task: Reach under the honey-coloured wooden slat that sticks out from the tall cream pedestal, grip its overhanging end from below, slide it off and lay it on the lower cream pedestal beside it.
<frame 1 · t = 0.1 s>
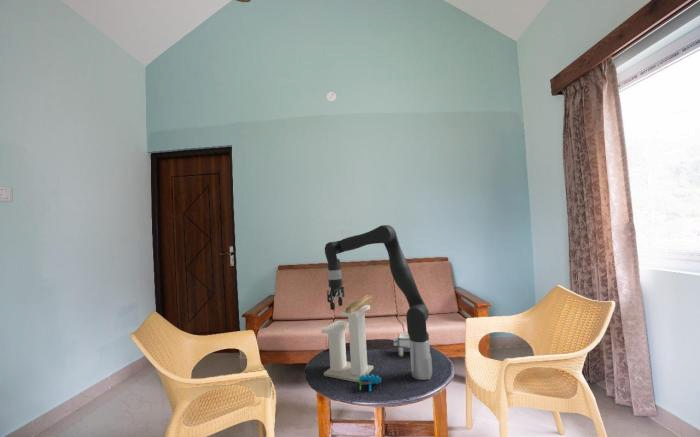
hand: (336, 307, 168), 29 cm above the table, tool pointing down, fingers open, 8 cm apart
blue legged figure: (369, 388, 138), on the table
two-step rack: (349, 371, 154), on the table
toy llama: (410, 354, 171), on the table
wooden slat: (359, 306, 157), point 32 cm above the table, touching two-step rack
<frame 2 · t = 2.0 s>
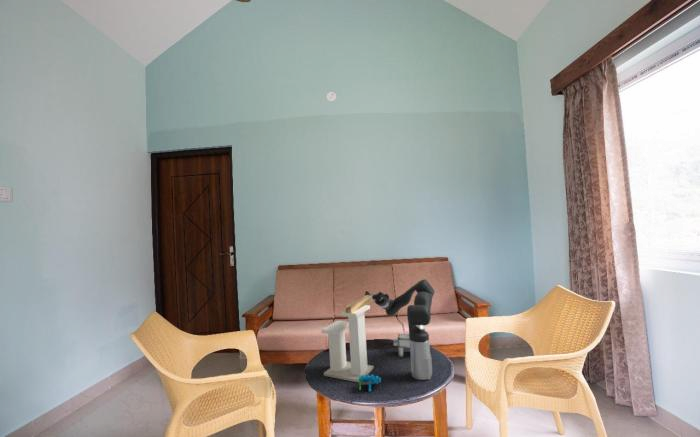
hand: (372, 293, 182), 33 cm above the table, tool pointing upward, fingers open, 8 cm apart
nothing on the table moved.
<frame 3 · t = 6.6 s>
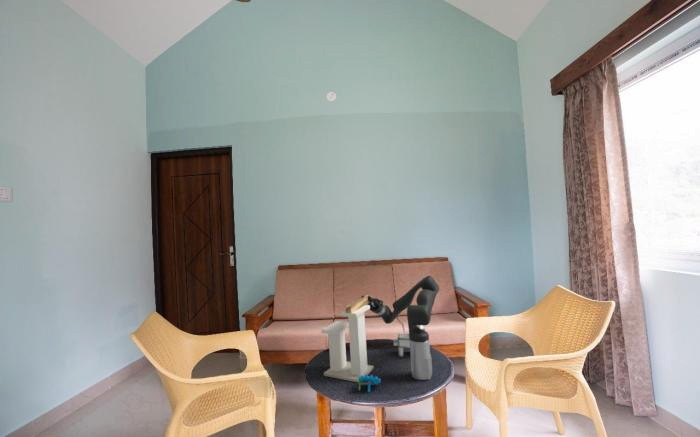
hand: (365, 297, 163), 35 cm above the table, tool pointing upward, fingers closed on wooden slat, 3 cm apart
wooden slat: (359, 306, 157), point 32 cm above the table, touching gripper, two-step rack
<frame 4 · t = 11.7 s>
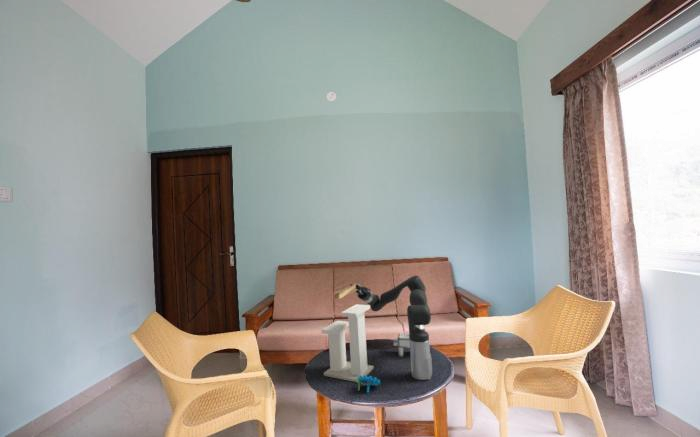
hand: (353, 285, 178), 39 cm above the table, tool pointing upward, fingers closed on wooden slat, 3 cm apart
wooden slat: (348, 293, 171), point 36 cm above the table, touching gripper
when the fingers open (27 cm above the table, at t = 17.0 s): wooden slat stays where it is, resting on two-step rack.
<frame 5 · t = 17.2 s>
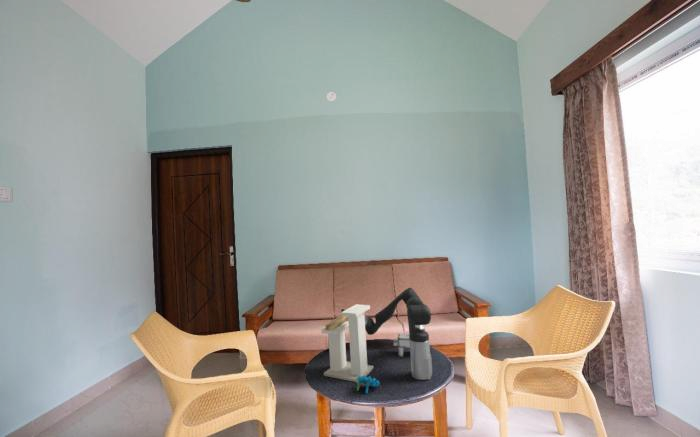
hand: (346, 311, 168), 27 cm above the table, tool pointing upward, fingers open, 5 cm apart
wooden slat: (340, 322, 162), point 22 cm above the table, touching two-step rack
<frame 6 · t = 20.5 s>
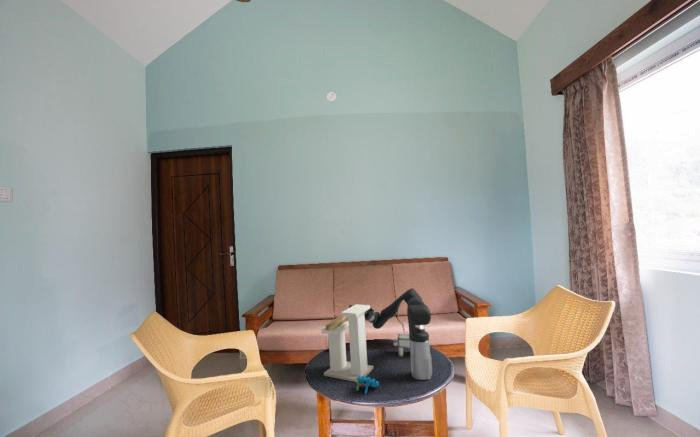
hand: (356, 307, 179), 26 cm above the table, tool pointing upward, fingers open, 8 cm apart
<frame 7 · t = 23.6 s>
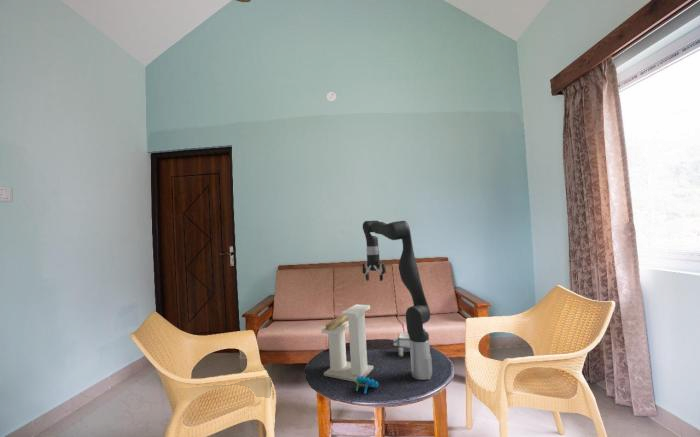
hand: (374, 280, 184), 40 cm above the table, tool pointing down, fingers open, 8 cm apart
at the end: wooden slat inside the target area (0.2 cm from its centre), point 22.5 cm above the table; wooden slat tilted 0°; the gripper is holding nothing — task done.
